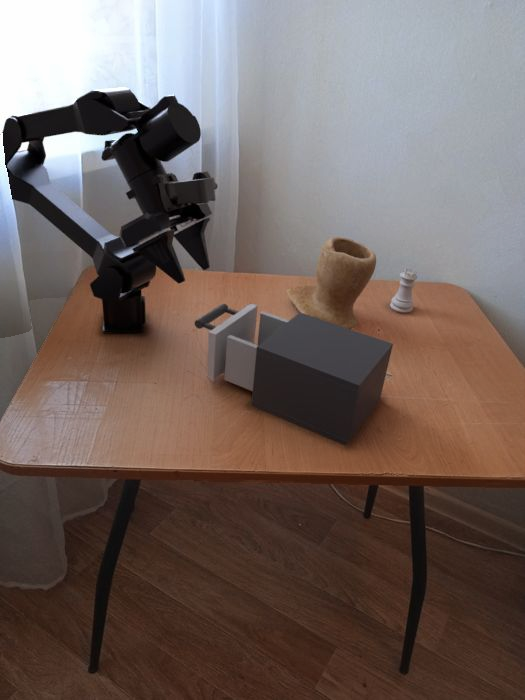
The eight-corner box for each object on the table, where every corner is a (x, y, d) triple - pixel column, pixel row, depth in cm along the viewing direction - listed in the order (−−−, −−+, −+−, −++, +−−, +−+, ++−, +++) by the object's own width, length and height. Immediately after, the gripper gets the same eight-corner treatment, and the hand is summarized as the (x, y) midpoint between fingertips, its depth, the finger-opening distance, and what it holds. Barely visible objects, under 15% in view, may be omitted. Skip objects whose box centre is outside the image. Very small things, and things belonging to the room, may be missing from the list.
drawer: (184, 368, 84) (185, 322, 80) (226, 338, 93) (229, 295, 89) (287, 412, 77) (294, 364, 73) (322, 374, 86) (330, 330, 82)
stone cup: (374, 334, 100) (391, 256, 93) (312, 339, 97) (325, 258, 89) (339, 297, 113) (352, 224, 105) (284, 300, 109) (292, 226, 101)
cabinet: (251, 405, 79) (256, 346, 74) (292, 366, 89) (299, 312, 84) (346, 446, 74) (359, 385, 69) (379, 399, 83) (393, 343, 78)
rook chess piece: (415, 308, 111) (424, 271, 107) (407, 316, 108) (417, 278, 104) (394, 301, 113) (402, 264, 109) (386, 309, 110) (394, 271, 106)
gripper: (160, 150, 69) (216, 267, 72) (216, 148, 85) (260, 243, 88) (93, 191, 73) (149, 298, 76) (159, 181, 90) (202, 270, 93)
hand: (195, 275), depth 83 cm, fingers open, 9 cm apart
